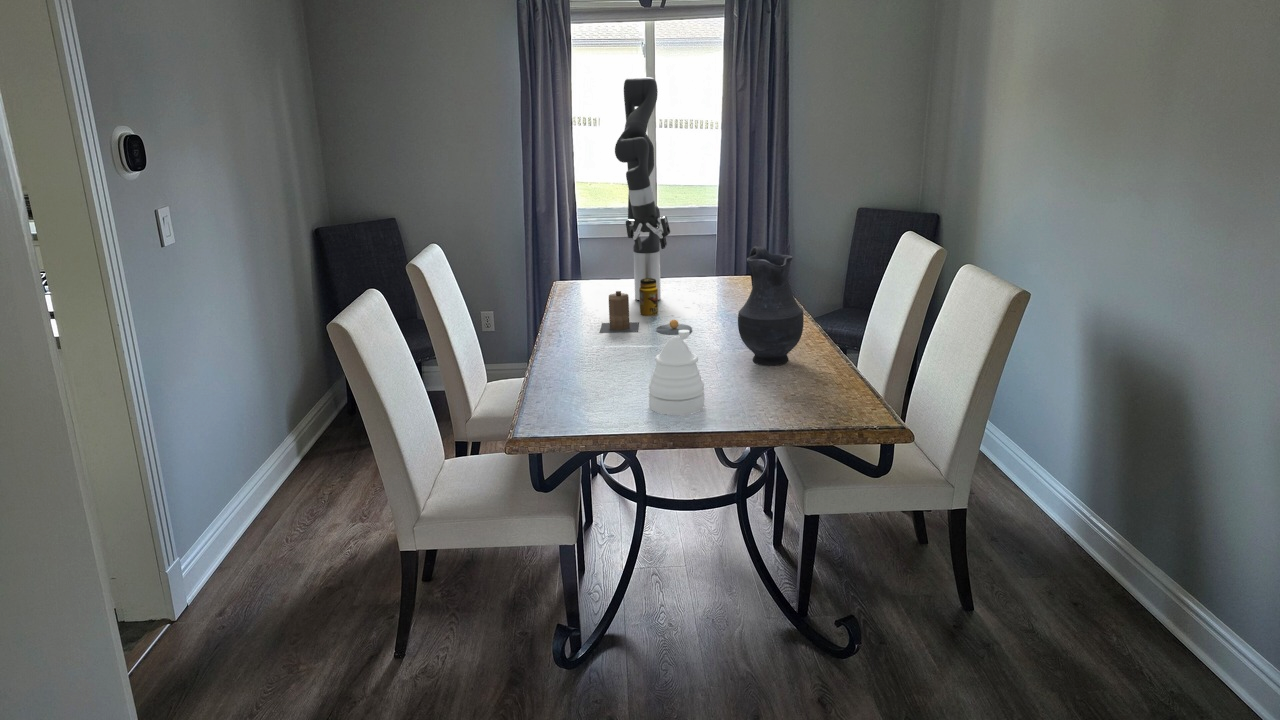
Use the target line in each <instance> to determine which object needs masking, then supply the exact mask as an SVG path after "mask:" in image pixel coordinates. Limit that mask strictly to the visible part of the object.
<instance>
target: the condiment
mask: <svg viewBox="0 0 1280 720" xmlns="http://www.w3.org/2000/svg"><path fill="white" fill-rule="evenodd" d="M640 283H641V284H640V286H641V287H640V289H639V295H640V301H639V313H640V315H641V316H645V317H648V316H649V317H652V316H657V315H658V313H659V302H658V301H659V300H658V290H657V287H656V280H655V279H653V278H645V279H641V280H640Z"/></svg>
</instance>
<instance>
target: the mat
mask: <svg viewBox="0 0 1280 720" xmlns="http://www.w3.org/2000/svg"><path fill="white" fill-rule="evenodd" d="M629 325H630V327H629V329H625V330H613V329H610V322H601V326H600V329H599V332H598V334H615V333H616V334H619V333H622V334H623V333H624V334H625V333H627V334H629V333H639V331H640V330H639V329H640V321H639V322H638V321H636V322H631V321H629Z"/></svg>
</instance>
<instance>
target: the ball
mask: <svg viewBox="0 0 1280 720" xmlns="http://www.w3.org/2000/svg"><path fill="white" fill-rule="evenodd" d="M668 324H669V325H670V327H671V328H673V329H675V328H677V327H678V325H679V324H680V323H679V321H678V320H677V319H671V320H670V321H669V323H668Z"/></svg>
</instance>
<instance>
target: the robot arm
mask: <svg viewBox="0 0 1280 720" xmlns="http://www.w3.org/2000/svg"><path fill="white" fill-rule="evenodd" d="M658 94H659V93H658V85H657V81H656V79H655V78H653V77H628V78H625V80H624V82H623V100H624V101H623V102H624V111H625V112H624V113H625V125H624V130H623V132H622V133H621V134H620V136H619V137H618V139H617V141H616V142H615V146H614V155H615V158H616V159H617V160H618V161H619V162H621V163H627V171H626V173H625V177H626V181H627V182H626V183H627V188H628V194H627V195H628V204H627V205H628V206H627V220H626V221H625V227H626V234H627V238H628V239H632V240H634V244H633V248H632V249H633V275H634V276H633V277H634V299H637V300H640V295H639V289H640V287H641V286H640V284H641V283H640V280H641V279H645V278H653V279H655V280H656V287H657V290H658V301H660V300H661V299H660V298H662V297H661V293H662V292H661V289H662V288H661V256H660V255H661V253H660V252H661V251H660V250H664V249H666V247H667V245H668V243H667V236H668V235H670V234H671V229H670V225H669V221H668V217H667V216H666V215H664V216H663V217H661V212H660V209H659V207H658V206H657V205H656V203H655V199H654V198H655V197H654V193H653V189H652V185H651V180H650V177H651V174H652V173H653V170H654V167H655V149H654V144H653V142H652V139H650V137H649V136H648V133H647V131H648V126H649V122H650V118H651V116H652V114H653V111H654V109H655V107H656V104H657V101H658ZM642 233H648V236H647V237H646V238H645V239H642V240H641V237H640V235H641V234H642ZM660 248H661V249H660ZM637 300H636V301H637Z"/></svg>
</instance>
